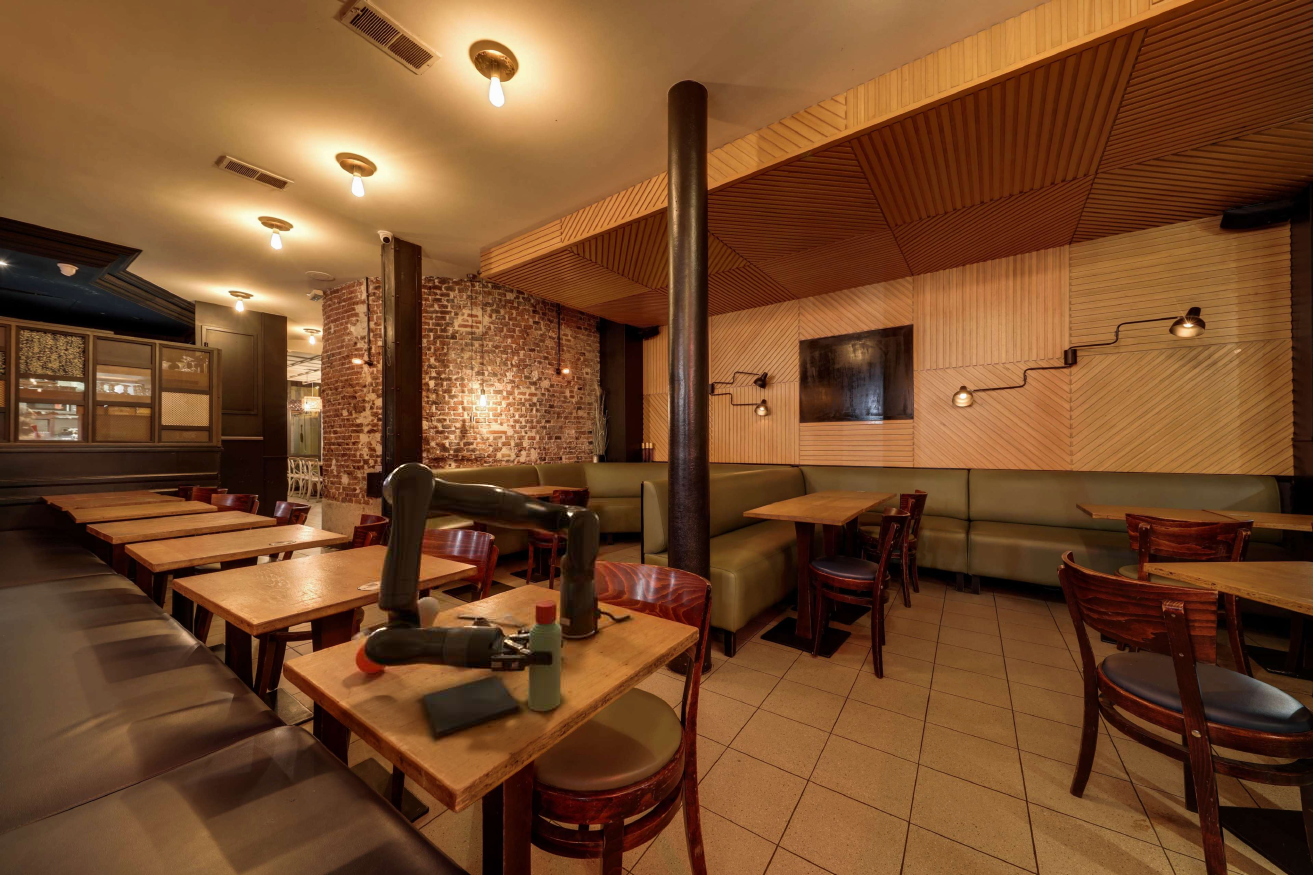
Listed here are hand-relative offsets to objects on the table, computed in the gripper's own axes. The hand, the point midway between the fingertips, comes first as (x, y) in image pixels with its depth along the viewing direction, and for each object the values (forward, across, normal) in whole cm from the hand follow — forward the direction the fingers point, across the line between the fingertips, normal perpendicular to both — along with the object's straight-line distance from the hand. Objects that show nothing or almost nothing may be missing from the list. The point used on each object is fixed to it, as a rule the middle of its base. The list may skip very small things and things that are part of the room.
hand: (557, 650), depth 88 cm
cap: (-2, 0, -6) cm, 6 cm away
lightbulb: (-41, +24, +10) cm, 48 cm away
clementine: (-43, +8, +10) cm, 45 cm away
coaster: (-16, -2, +10) cm, 19 cm away
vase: (-24, +18, +10) cm, 31 cm away
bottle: (-2, 0, +10) cm, 10 cm away
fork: (-31, +39, +10) cm, 50 cm away
